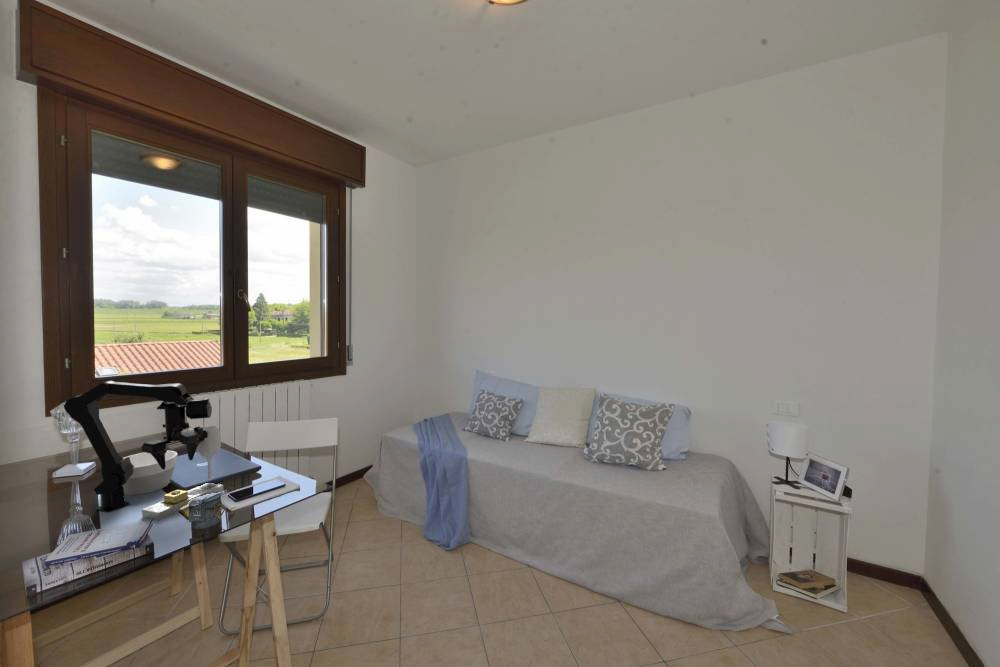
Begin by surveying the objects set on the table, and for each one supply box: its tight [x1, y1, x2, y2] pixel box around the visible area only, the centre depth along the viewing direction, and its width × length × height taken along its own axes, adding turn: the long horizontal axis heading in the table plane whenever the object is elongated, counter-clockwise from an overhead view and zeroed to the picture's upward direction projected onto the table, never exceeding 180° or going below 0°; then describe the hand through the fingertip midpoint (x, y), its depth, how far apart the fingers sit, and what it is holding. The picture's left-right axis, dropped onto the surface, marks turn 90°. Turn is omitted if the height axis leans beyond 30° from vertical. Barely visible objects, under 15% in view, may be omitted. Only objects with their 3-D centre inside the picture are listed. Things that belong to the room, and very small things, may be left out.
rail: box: [141, 483, 224, 521], centre depth 146 cm, size 8×22×3 cm, turn 162°
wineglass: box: [195, 425, 222, 479], centre depth 163 cm, size 9×9×21 cm
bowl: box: [122, 449, 178, 496], centre depth 160 cm, size 19×19×11 cm
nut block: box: [163, 489, 188, 505], centre depth 143 cm, size 4×4×5 cm
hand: (177, 464), depth 150 cm, fingers open, 9 cm apart
